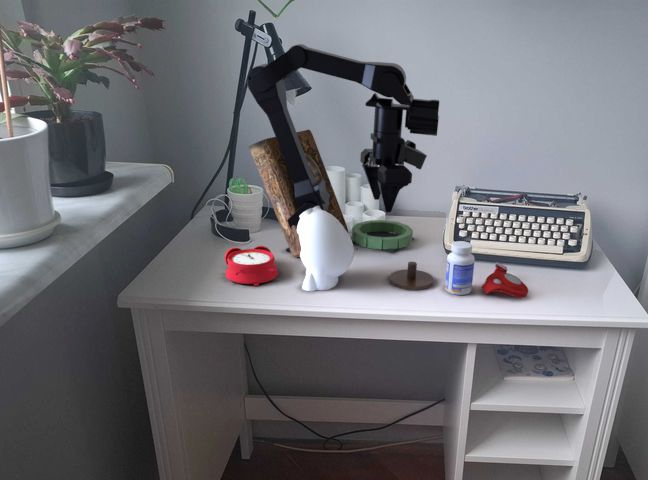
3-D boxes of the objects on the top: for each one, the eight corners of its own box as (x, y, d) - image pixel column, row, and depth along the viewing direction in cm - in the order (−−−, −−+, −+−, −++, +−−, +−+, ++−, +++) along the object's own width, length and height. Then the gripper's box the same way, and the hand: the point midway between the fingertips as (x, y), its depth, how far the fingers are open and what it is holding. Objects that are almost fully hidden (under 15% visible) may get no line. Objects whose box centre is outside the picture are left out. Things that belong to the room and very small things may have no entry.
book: (307, 253, 137) (262, 139, 130) (289, 259, 140) (244, 148, 134) (350, 234, 149) (310, 129, 143) (333, 239, 153) (293, 136, 146)
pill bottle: (476, 291, 128) (482, 245, 123) (459, 298, 124) (464, 251, 120) (456, 282, 131) (460, 237, 126) (439, 289, 128) (442, 243, 123)
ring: (340, 241, 148) (340, 231, 146) (371, 225, 159) (371, 216, 158) (394, 254, 142) (394, 243, 141) (422, 236, 153) (423, 227, 152)
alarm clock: (228, 272, 120) (218, 231, 130) (229, 298, 124) (220, 256, 135) (282, 268, 123) (269, 228, 134) (282, 293, 128) (269, 252, 138)
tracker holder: (540, 290, 127) (505, 288, 121) (529, 308, 129) (495, 307, 123) (505, 257, 134) (470, 254, 128) (495, 275, 136) (461, 272, 130)
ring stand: (381, 283, 128) (381, 265, 127) (401, 269, 136) (402, 252, 134) (422, 293, 125) (423, 275, 123) (440, 278, 132) (441, 260, 131)
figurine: (353, 270, 134) (354, 200, 127) (353, 292, 124) (354, 218, 117) (300, 268, 133) (298, 198, 126) (296, 290, 123) (293, 216, 116)
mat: (351, 244, 148) (351, 241, 148) (373, 231, 157) (373, 229, 157) (393, 253, 144) (393, 250, 144) (413, 239, 153) (413, 237, 153)
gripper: (440, 141, 124) (431, 218, 132) (410, 123, 139) (404, 193, 147) (385, 140, 121) (380, 219, 128) (361, 121, 136) (358, 193, 143)
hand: (382, 205), depth 137 cm, fingers open, 9 cm apart
